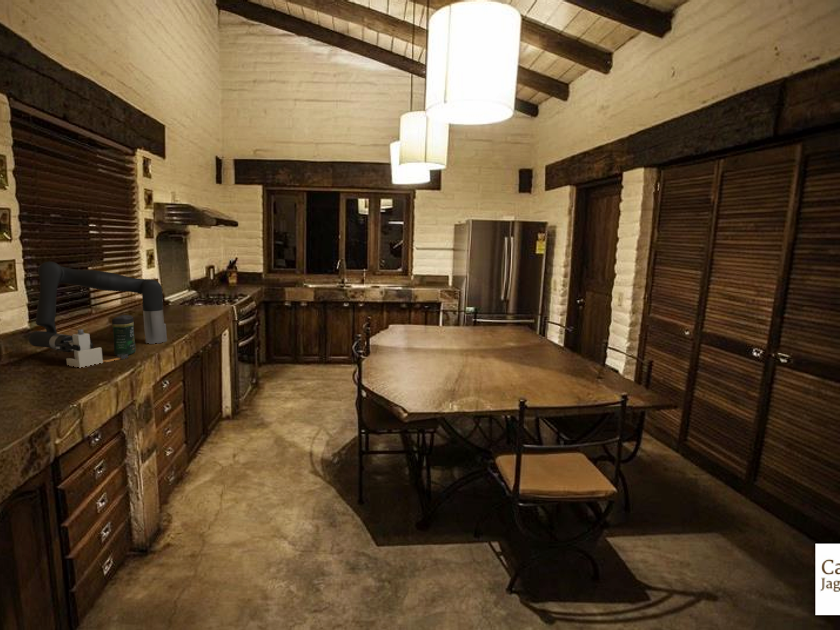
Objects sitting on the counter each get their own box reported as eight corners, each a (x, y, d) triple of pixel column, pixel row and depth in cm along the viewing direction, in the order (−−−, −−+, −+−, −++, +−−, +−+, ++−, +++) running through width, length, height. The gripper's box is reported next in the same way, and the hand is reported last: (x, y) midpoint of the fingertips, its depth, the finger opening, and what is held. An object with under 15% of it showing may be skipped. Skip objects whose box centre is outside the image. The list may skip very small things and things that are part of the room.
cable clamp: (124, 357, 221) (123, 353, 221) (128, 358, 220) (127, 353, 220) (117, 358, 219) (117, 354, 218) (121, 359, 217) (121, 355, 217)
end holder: (90, 360, 215) (88, 345, 214) (102, 363, 211) (101, 347, 210) (67, 365, 207) (65, 349, 206) (79, 368, 203) (78, 352, 201)
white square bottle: (86, 359, 212) (82, 328, 210) (91, 360, 210) (88, 329, 208) (75, 361, 208) (71, 330, 206) (81, 362, 206) (77, 331, 204)
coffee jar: (130, 356, 224) (127, 317, 221) (112, 356, 223) (108, 317, 220) (138, 351, 233) (135, 313, 230) (121, 351, 232) (117, 314, 229)
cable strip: (114, 357, 220) (114, 356, 220) (121, 359, 218) (121, 357, 218) (92, 362, 212) (92, 361, 212) (99, 363, 209) (99, 362, 209)
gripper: (44, 337, 207) (66, 341, 200) (79, 331, 220) (102, 335, 212) (46, 354, 208) (68, 359, 201) (81, 347, 221) (103, 352, 214)
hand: (85, 347), depth 207 cm, fingers closed on white square bottle, 4 cm apart
